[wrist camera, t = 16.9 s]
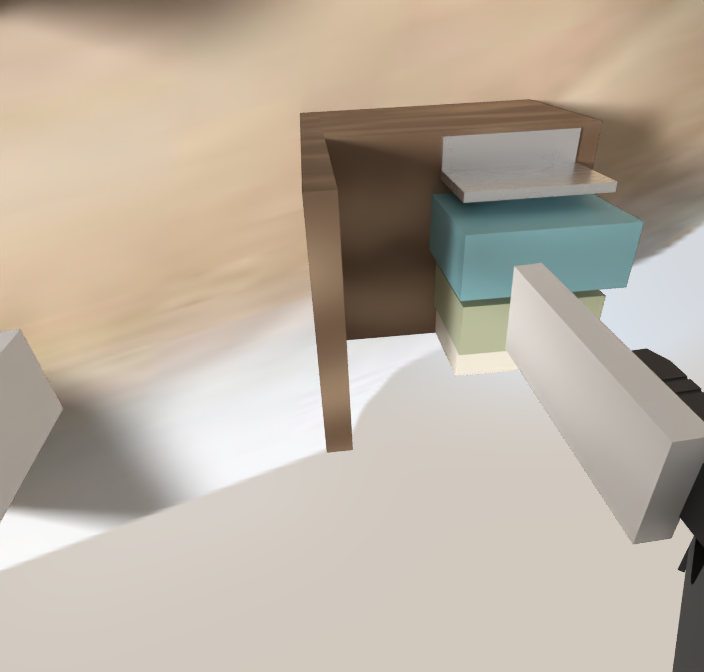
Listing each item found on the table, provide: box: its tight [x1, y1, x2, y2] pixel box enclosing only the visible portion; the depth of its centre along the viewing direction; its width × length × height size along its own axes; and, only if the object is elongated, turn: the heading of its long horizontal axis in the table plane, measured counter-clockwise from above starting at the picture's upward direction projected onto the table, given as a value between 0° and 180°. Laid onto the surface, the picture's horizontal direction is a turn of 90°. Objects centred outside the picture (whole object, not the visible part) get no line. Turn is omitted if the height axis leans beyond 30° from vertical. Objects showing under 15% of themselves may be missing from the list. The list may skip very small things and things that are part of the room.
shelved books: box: [434, 262, 605, 376], centre depth 35 cm, size 6×9×7 cm, turn 93°
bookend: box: [440, 127, 618, 203], centre depth 30 cm, size 3×9×6 cm, turn 93°
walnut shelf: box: [300, 100, 602, 452], centre depth 36 cm, size 15×20×24 cm
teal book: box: [430, 193, 644, 301], centre depth 32 cm, size 4×10×8 cm, turn 93°
